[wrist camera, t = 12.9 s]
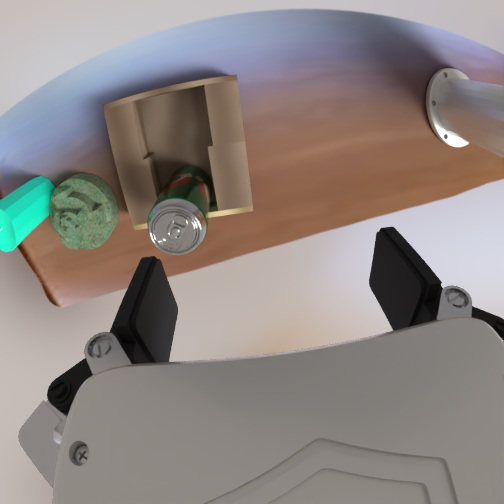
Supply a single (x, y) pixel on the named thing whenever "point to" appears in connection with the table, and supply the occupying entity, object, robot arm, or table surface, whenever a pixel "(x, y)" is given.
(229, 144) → the open cardboard box
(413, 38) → the table surface
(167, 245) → the soda can
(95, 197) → the decorative artifact
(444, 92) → the robot arm
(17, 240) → the candle
